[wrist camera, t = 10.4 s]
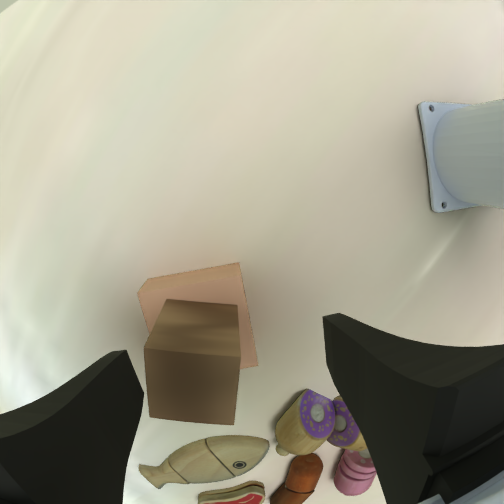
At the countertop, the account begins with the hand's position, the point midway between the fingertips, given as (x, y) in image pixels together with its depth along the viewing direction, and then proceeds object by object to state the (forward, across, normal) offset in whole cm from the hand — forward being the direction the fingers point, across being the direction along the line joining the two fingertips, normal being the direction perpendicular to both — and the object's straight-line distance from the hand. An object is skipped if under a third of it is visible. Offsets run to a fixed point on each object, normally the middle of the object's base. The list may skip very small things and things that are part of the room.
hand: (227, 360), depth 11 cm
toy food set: (+10, -2, +20) cm, 22 cm away
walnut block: (+7, +2, +2) cm, 8 cm away
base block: (+10, +2, +2) cm, 11 cm away
